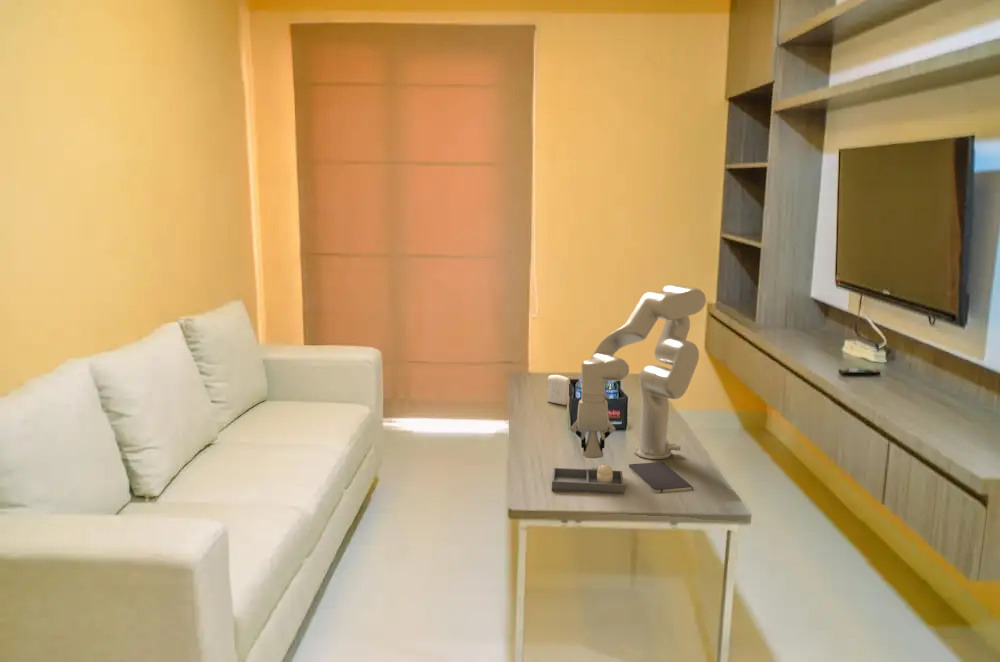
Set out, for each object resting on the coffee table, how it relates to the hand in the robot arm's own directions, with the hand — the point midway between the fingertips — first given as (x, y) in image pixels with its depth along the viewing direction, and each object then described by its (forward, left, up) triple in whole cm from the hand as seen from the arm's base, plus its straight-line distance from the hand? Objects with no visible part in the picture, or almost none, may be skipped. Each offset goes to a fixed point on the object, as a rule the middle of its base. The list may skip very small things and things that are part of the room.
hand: (592, 449), depth 237 cm
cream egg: (-4, +15, -6) cm, 16 cm away
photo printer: (+14, -73, -7) cm, 75 cm away
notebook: (-21, +6, -7) cm, 23 cm away
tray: (+2, +15, -6) cm, 16 cm away
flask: (0, 0, -2) cm, 2 cm away
